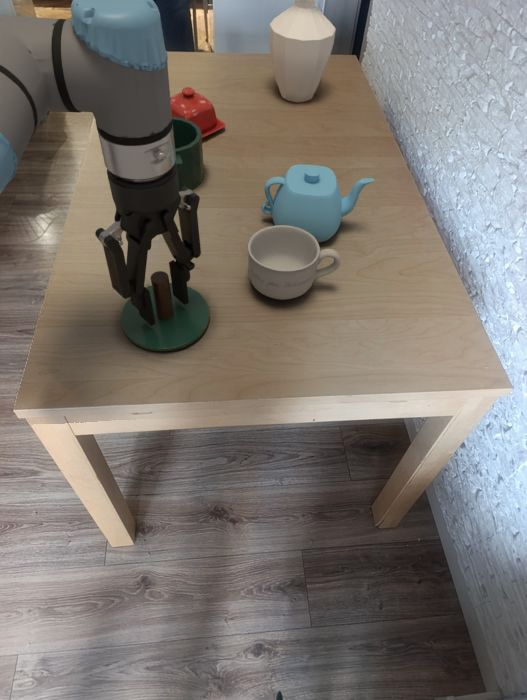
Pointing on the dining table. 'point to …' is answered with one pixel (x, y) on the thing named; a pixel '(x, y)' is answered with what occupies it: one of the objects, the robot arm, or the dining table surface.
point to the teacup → (286, 261)
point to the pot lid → (166, 318)
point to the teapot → (311, 200)
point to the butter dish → (196, 111)
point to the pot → (188, 152)
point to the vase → (300, 49)
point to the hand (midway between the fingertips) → (164, 308)
